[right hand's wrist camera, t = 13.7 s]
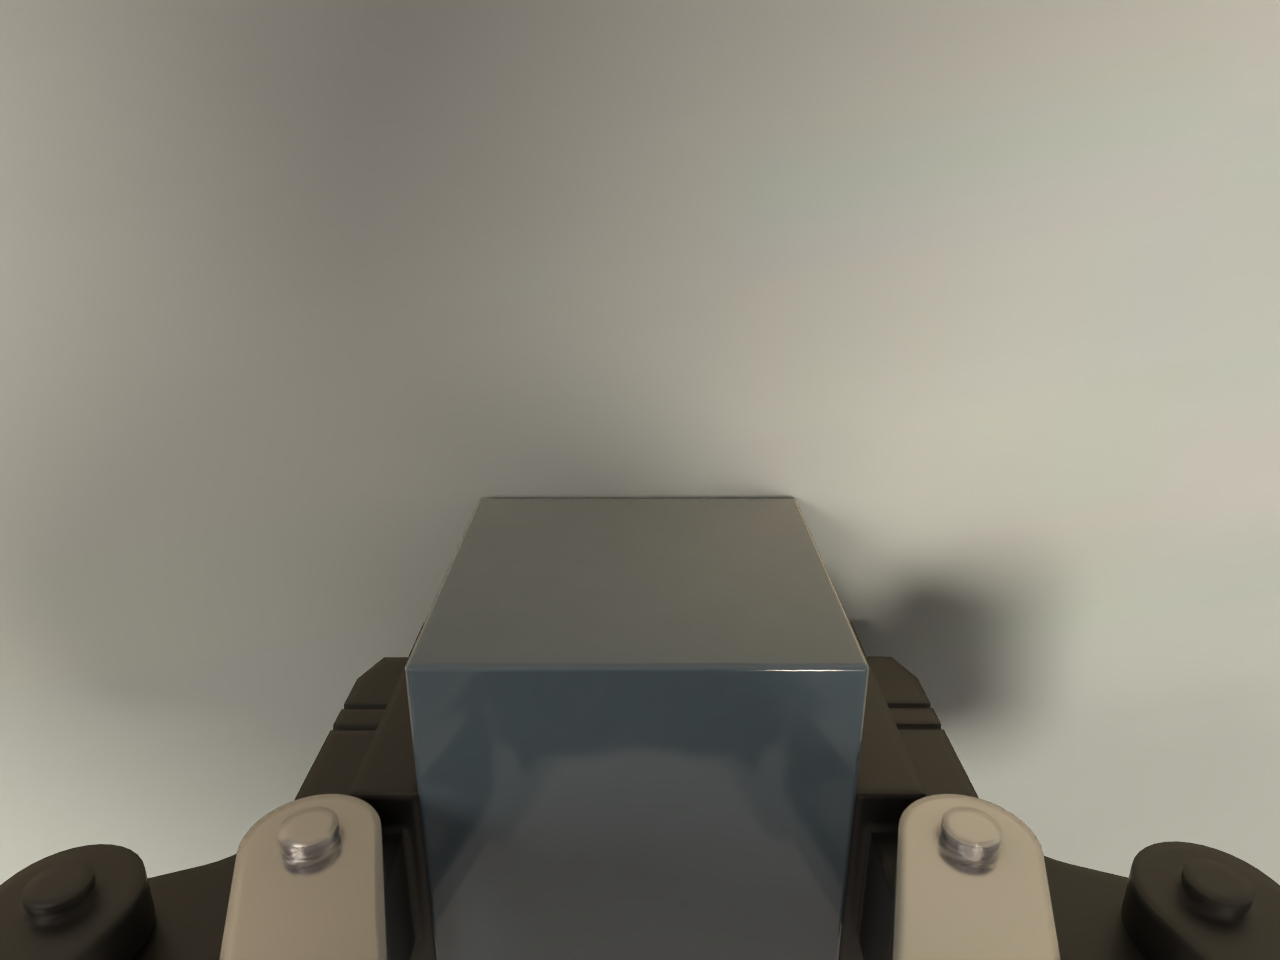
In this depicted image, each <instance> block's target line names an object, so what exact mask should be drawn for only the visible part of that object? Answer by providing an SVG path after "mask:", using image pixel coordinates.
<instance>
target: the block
mask: <svg viewBox="0 0 1280 960" xmlns="http://www.w3.org/2000/svg"><path fill="white" fill-rule="evenodd" d="M405 675H406V684H407V694H408V703H409V713H410V723H411V732H412V742H413V751H414V761H415V771H416V780H417V790H418V794H419V801H420V810H421V820H422V830H423V839H424V849H425V858H426V868H427V877H428V887H429V896H430V906H431V915H432V925H433V935H434V944H435V954H436V960H839V952H840V942H841V932H842V923H843V913H844V903H845V894H846V884H847V874H848V864H849V855H850V845H851V835H852V826H853V816H854V806H855V797H856V791H857V782H858V773H859V763H860V753H861V744H862V734H863V724H864V715H865V705H866V695H867V686H868V676H869V667H868V664H867V662H866V659H865V657H864V655H863V652H862V650H861V648H860V646H859V643H858V641H857V639H856V636H855V634H854V632H853V629H852V627H851V625H850V623H849V620H848V618H847V616H846V613H845V611H844V609H843V606H842V604H841V602H840V600H839V597H838V595H837V593H836V590H835V588H834V586H833V584H832V581H831V579H830V577H829V574H828V572H827V570H826V567H825V565H824V563H823V561H822V558H821V556H820V554H819V551H818V549H817V547H816V544H815V542H814V540H813V538H812V535H811V533H810V531H809V528H808V526H807V524H806V521H805V519H804V517H803V515H802V512H801V510H800V508H799V505H798V503H797V501H796V500H795V499H626V498H482V499H480V500H479V501H478V504H477V506H476V508H475V510H474V513H473V515H472V517H471V519H470V522H469V524H468V526H467V528H466V531H465V533H464V535H463V538H462V540H461V542H460V544H459V547H458V549H457V551H456V553H455V556H454V558H453V560H452V562H451V565H450V567H449V569H448V571H447V574H446V576H445V578H444V581H443V583H442V585H441V587H440V590H439V592H438V594H437V596H436V599H435V601H434V603H433V605H432V608H431V610H430V612H429V614H428V617H427V619H426V621H425V624H424V626H423V628H422V630H421V633H420V635H419V637H418V639H417V642H416V644H415V646H414V648H413V651H412V653H411V655H410V657H409V660H408V662H407V664H406V667H405Z"/></svg>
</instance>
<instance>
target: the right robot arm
mask: <svg viewBox="0 0 1280 960" xmlns="http://www.w3.org/2000/svg"><path fill="white" fill-rule="evenodd" d="M849 623H850V625H851V627H852V629H853V632H854V634H855V636H856V639H857V641H858V643H859V646H860V648H861V650H862V652H863V655H864V657H865V659H866V662H867V664H868V667H869V676H868V686H867V695H866V705H865V715H864V724H863V734H862V744H861V753H860V763H859V773H858V782H857V791H856V797H855V806H854V816H853V826H852V835H851V845H850V855H849V864H848V874H847V884H846V894H845V903H844V913H843V923H842V932H841V942H840V952H839V960H1280V885H1278V884H1277V883H1276V882H1275V881H1273V880H1272V879H1271V878H1269V877H1268V876H1267V875H1265V874H1264V873H1262V872H1261V871H1260V870H1258V869H1257V868H1255V867H1253V866H1252V865H1250V864H1248V863H1246V862H1245V861H1243V860H1241V859H1239V858H1236V857H1234V856H1232V855H1230V854H1227V853H1225V852H1222V851H1220V850H1217V849H1214V848H1210V847H1207V846H1203V845H1198V844H1193V843H1186V842H1162V843H1157V844H1153V845H1151V846H1148V847H1146V848H1144V849H1143V850H1141V851H1140V852H1139V853H1138V854H1137V855H1136V857H1135V858H1134V861H1133V864H1132V867H1131V871H1130V875H1129V878H1127V877H1122V876H1118V875H1114V874H1110V873H1105V872H1101V871H1097V870H1093V869H1088V868H1084V867H1080V866H1075V865H1071V864H1067V863H1064V862H1060V861H1057V860H1054V859H1051V858H1049V857H1046V856H1044V855H1043V851H1042V848H1041V845H1040V843H1039V841H1038V839H1037V837H1036V836H1035V835H1034V833H1033V832H1032V831H1031V830H1030V828H1029V827H1028V826H1027V825H1025V824H1024V823H1023V822H1022V821H1021V820H1020V819H1019V818H1017V817H1016V816H1015V815H1013V814H1012V813H1010V812H1008V811H1007V810H1005V809H1003V808H1002V807H999V806H997V805H995V804H993V803H991V802H988V801H985V800H982V799H979V798H978V796H977V794H976V792H975V790H974V788H973V786H972V784H971V782H970V780H969V778H968V776H967V774H966V772H965V770H964V768H963V766H962V764H961V762H960V761H959V759H958V757H957V755H956V753H955V751H954V749H953V747H952V745H951V743H950V741H949V739H948V737H947V735H946V733H945V731H944V730H941V723H940V721H939V720H938V718H937V716H936V714H935V712H934V710H933V708H930V702H929V700H928V698H927V696H926V694H925V692H924V690H923V688H922V686H921V684H920V682H919V680H918V679H917V678H916V677H915V676H914V675H913V674H911V673H910V672H909V671H908V670H906V669H905V668H904V667H903V666H902V665H900V664H899V663H898V662H897V661H895V660H894V659H893V658H892V657H866V655H865V652H864V650H863V648H862V645H861V643H860V641H859V639H858V636H857V634H856V632H855V629H854V627H853V625H852V623H851V622H850V621H849ZM424 624H425V623H424ZM424 624H423V626H424ZM423 626H422V628H423ZM422 628H421V630H422ZM421 630H420V632H419V635H420V633H421ZM419 635H418V637H419ZM418 637H417V639H418ZM417 639H416V641H415V644H416V642H417ZM415 644H414V646H415ZM414 646H413V648H414ZM413 648H412V650H411V653H412V651H413ZM411 653H410V655H411ZM410 655H409V657H410ZM409 657H408V658H383V659H382V660H380V661H379V662H378V663H377V664H376V665H374V666H373V667H372V668H371V669H369V670H368V671H367V672H366V673H364V674H363V675H362V676H361V677H359V678H358V679H357V681H356V683H355V685H354V687H353V688H352V690H351V692H350V694H349V696H348V698H347V700H346V702H345V704H344V709H342V710H341V712H340V713H339V715H338V717H337V719H336V721H335V723H334V725H333V731H330V733H329V735H328V737H327V738H326V740H325V742H324V744H323V746H322V748H321V750H320V752H319V754H318V756H317V758H316V760H315V761H314V763H313V765H312V767H311V769H310V771H309V773H308V775H307V777H306V779H305V781H304V783H303V785H302V786H301V788H300V790H299V792H298V794H297V796H296V798H295V800H294V801H292V802H289V803H287V804H285V805H283V806H281V807H278V808H277V809H275V810H273V811H272V812H270V813H268V814H267V815H265V816H264V817H263V818H261V819H260V820H259V821H258V822H257V823H256V824H254V825H253V826H252V827H251V828H250V830H249V831H248V832H247V833H246V835H245V836H244V837H243V839H242V841H241V843H240V845H239V848H238V851H237V854H235V855H233V856H231V857H228V858H225V859H223V860H220V861H217V862H214V863H210V864H207V865H203V866H199V867H195V868H191V869H186V870H182V871H178V872H174V873H169V874H165V875H161V876H157V877H152V878H148V879H147V875H146V870H145V867H144V864H143V861H142V860H141V858H140V857H139V856H138V855H137V854H136V853H134V852H133V851H132V850H130V849H127V848H124V847H122V846H116V845H106V844H98V845H87V846H82V847H77V848H72V849H69V850H65V851H62V852H59V853H56V854H54V855H51V856H48V857H46V858H44V859H42V860H40V861H37V862H35V863H33V864H31V865H30V866H28V867H26V868H25V869H23V870H21V871H19V872H18V873H16V874H15V875H14V876H12V877H11V878H9V879H8V880H7V881H5V882H4V883H3V884H2V885H0V960H436V954H435V944H434V935H433V925H432V915H431V906H430V896H429V887H428V877H427V868H426V858H425V849H424V839H423V830H422V820H421V810H420V801H419V794H418V790H417V780H416V771H415V761H414V751H413V742H412V732H411V723H410V713H409V703H408V694H407V684H406V675H405V667H406V664H407V662H408V660H409Z"/></svg>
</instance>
